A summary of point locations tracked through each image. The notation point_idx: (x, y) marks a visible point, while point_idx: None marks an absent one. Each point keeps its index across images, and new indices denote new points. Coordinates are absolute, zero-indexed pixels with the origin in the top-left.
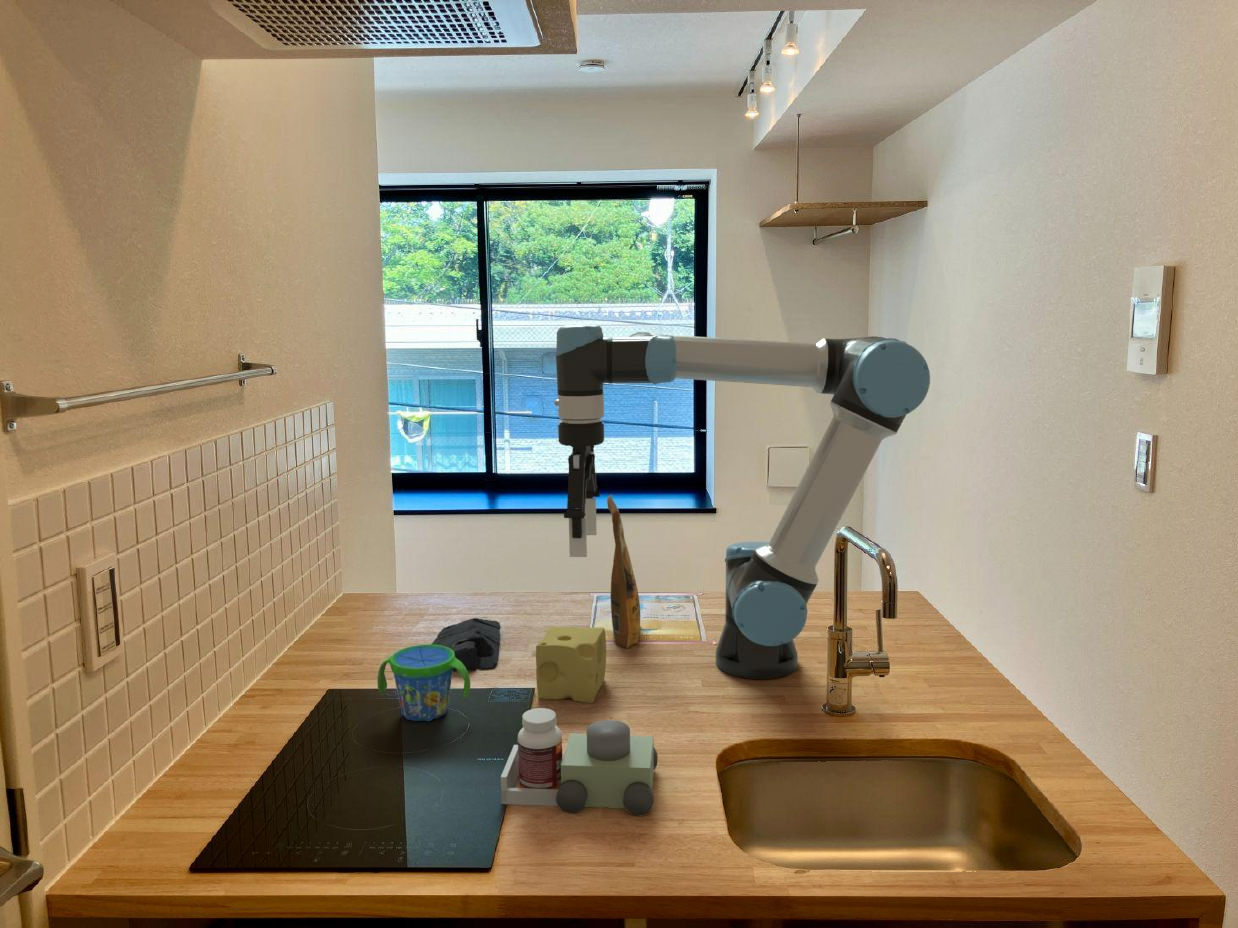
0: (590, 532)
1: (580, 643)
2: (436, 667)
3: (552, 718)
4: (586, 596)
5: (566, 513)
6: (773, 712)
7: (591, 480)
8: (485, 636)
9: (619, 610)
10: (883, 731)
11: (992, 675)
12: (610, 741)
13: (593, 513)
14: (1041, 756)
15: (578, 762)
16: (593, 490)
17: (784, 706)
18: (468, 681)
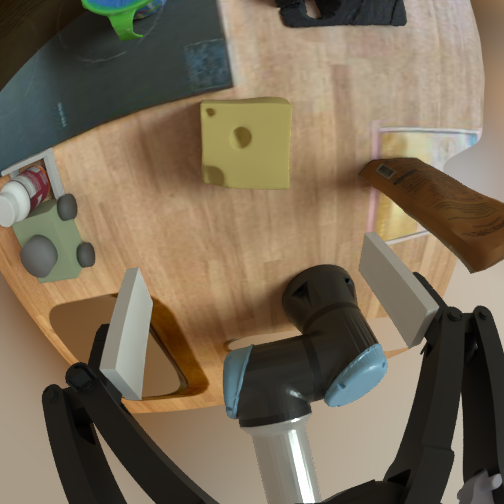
0: (363, 262)
1: (221, 168)
2: (91, 10)
3: (4, 226)
4: (476, 123)
5: (46, 393)
6: (220, 315)
7: (408, 423)
8: (359, 8)
9: (391, 181)
10: (208, 363)
11: None
12: (25, 267)
13: (389, 307)
14: (201, 401)
15: (19, 235)
16: (421, 370)
17: (233, 320)
18: (130, 37)
